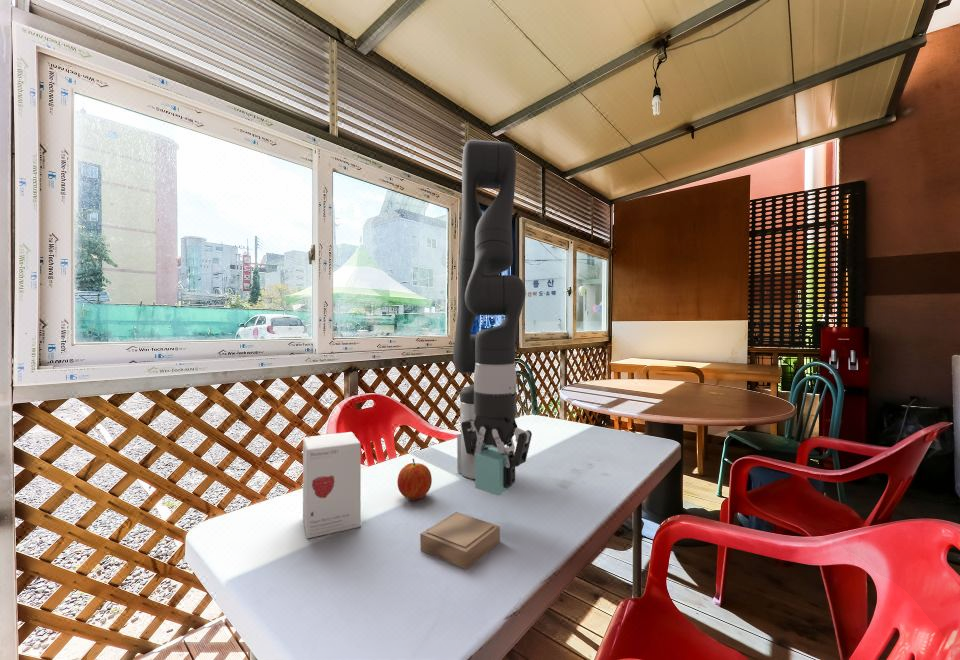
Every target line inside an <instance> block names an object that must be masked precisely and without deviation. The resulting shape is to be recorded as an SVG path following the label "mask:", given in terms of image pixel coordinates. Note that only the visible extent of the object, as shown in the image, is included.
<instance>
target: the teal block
mask: <svg viewBox="0 0 960 660" xmlns="http://www.w3.org/2000/svg"><path fill="white" fill-rule="evenodd" d="M503 467H505V466H504V463H503V458H502V456H501V455H500V454H499V452H498V449H497V448H493V447H490V448H489V449H488V450H484V451H482V453H478V454H476V455H475V479H474V483H475V485H474V488H475V489H477V490H479V491H483V492H487V493H490V494H493V495H496V496H500V495H502V494H504V493H505V492H507V491H508V490H509V489H511V488H512V487H514V486H515V483H514V484H513V485H512V486H511V487H509V488H508V489H507V488H504V487H503Z"/></svg>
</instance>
